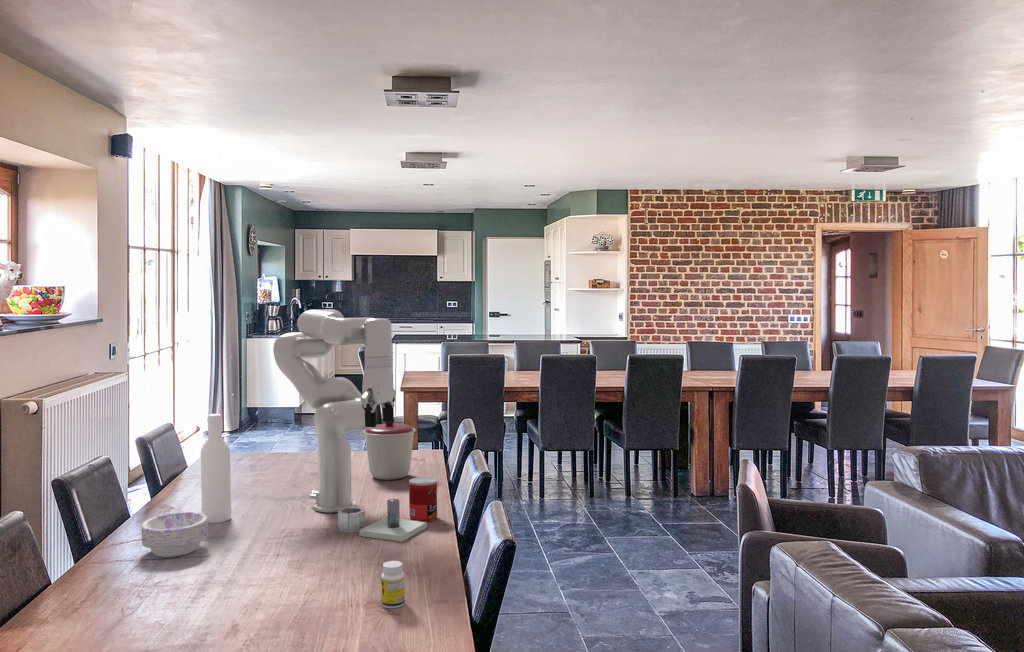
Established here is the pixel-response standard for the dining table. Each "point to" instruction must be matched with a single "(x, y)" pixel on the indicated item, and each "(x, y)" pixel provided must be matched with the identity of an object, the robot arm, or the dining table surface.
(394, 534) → the green board
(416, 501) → the canned food
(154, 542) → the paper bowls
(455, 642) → the dining table surface
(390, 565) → the supplement bottle
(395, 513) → the steel post
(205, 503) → the bottle
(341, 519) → the metal ring
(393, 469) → the canister
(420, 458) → the dining table surface
